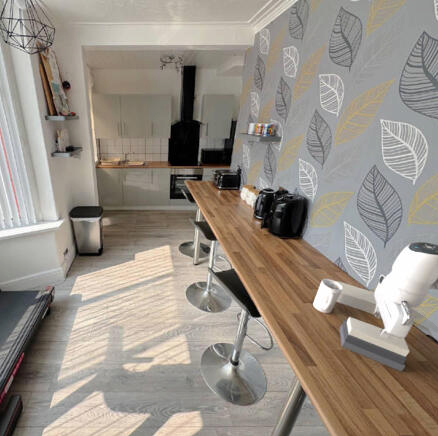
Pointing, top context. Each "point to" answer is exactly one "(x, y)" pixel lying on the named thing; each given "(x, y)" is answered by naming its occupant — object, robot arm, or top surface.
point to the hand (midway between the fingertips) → (379, 325)
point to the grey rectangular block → (371, 350)
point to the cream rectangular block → (376, 336)
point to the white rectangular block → (357, 298)
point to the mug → (327, 295)
